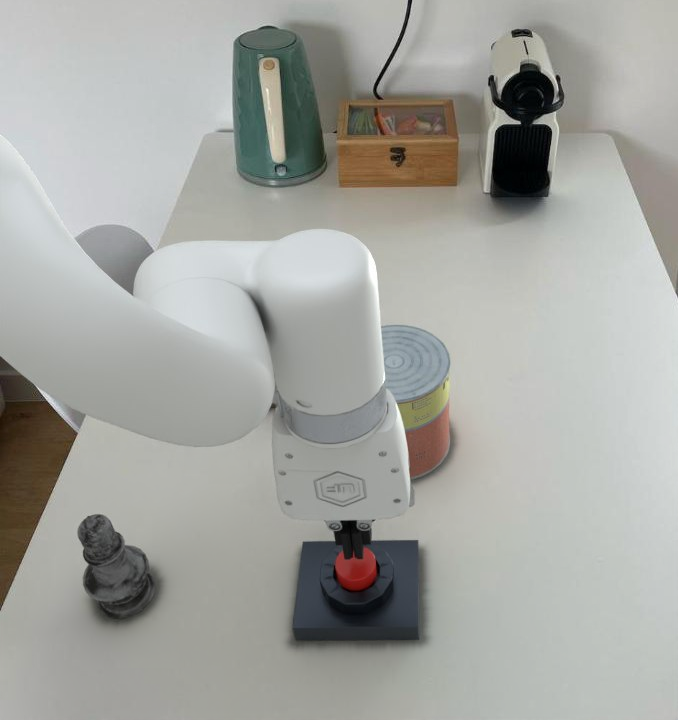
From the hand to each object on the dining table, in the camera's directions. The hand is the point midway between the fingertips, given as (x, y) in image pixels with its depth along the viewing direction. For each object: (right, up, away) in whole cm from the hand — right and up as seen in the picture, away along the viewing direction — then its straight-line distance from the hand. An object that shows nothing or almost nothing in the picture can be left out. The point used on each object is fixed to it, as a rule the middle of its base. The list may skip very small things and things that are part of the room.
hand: (355, 544), depth 70 cm
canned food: (+4, +7, +19) cm, 21 cm away
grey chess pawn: (-22, -6, +7) cm, 24 cm away
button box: (0, -6, +5) cm, 8 cm away
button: (0, -3, +3) cm, 4 cm away
